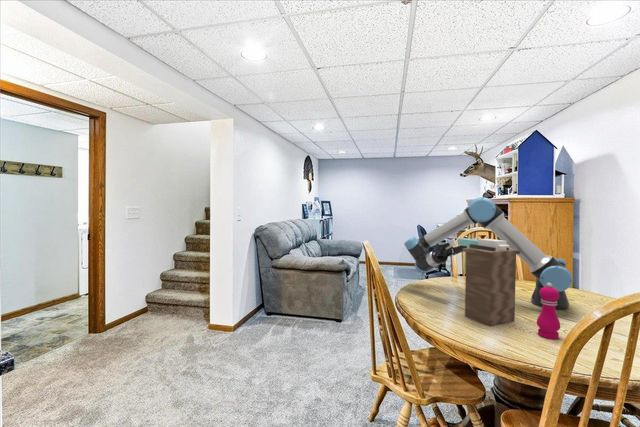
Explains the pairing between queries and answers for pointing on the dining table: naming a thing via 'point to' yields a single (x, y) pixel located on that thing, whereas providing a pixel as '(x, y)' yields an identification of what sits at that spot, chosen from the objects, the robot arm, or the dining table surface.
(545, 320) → the pepper mill
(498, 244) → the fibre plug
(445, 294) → the dining table surface
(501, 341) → the dining table surface
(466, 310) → the wood-grain storage bin
